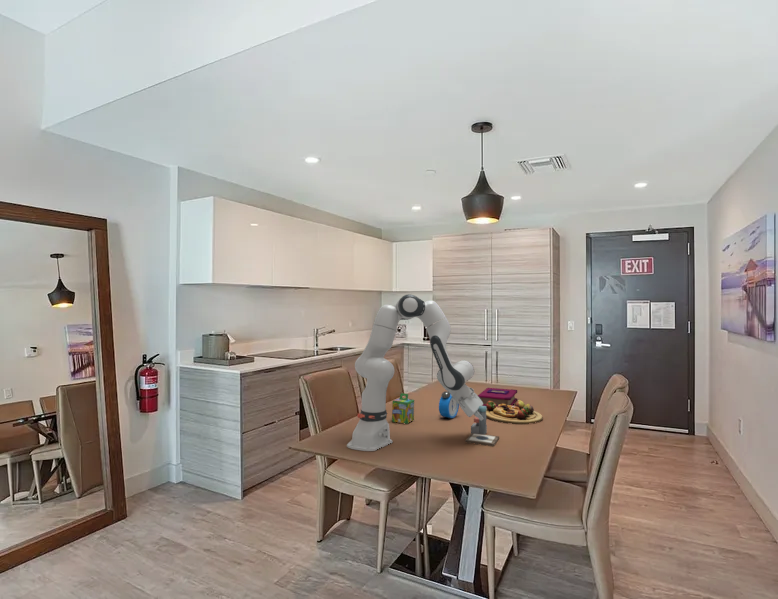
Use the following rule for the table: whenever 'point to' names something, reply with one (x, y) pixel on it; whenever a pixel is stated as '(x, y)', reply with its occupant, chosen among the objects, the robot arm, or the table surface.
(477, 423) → the button
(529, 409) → the wooden plate with food
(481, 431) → the joystick
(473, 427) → the button box
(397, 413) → the chalk box
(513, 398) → the book
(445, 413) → the alarm clock
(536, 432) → the table surface
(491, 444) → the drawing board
